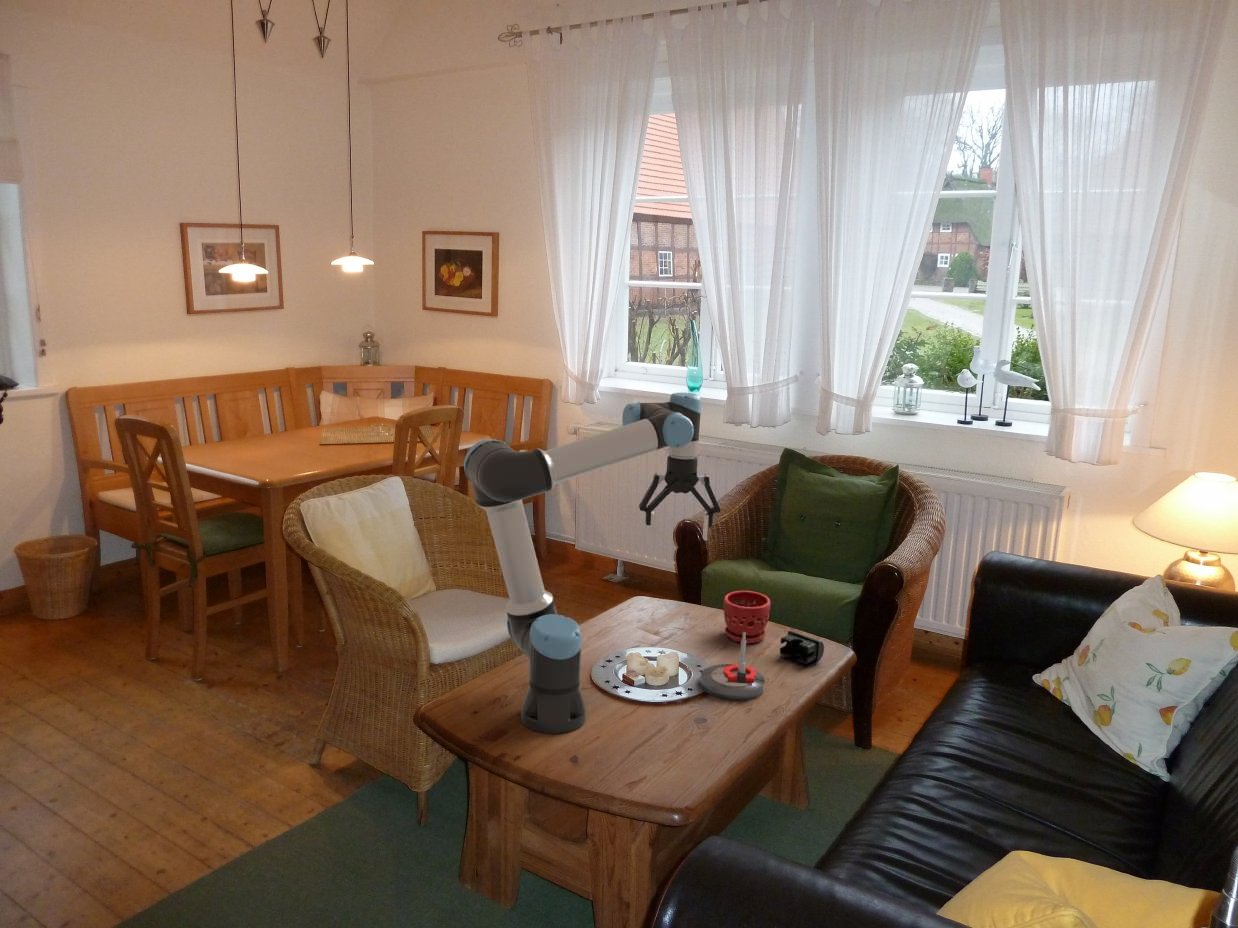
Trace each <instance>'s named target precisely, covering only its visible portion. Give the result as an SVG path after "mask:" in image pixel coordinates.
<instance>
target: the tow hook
mask: <svg viewBox="0 0 1238 928" xmlns="http://www.w3.org/2000/svg"><path fill="white" fill-rule="evenodd" d="M746 649H747V643H746V632H743V638H742V641H741V642H740V655H739V657H740V658H739V662H738V664H733V665H730V666H727V667H725V668H724V669H723V674H724V675H725V676H727V677H728V681H737V682H751V683H754V681H755V677H756V675H757V673H756V671H757V670H756V669H754V668H753V667H751V666H747V665H746V661H745V660H746ZM731 670H738V671H737V676H736V675H735V674H732V673H731V672H730V671H731ZM755 670H756V671H755ZM746 671H747V672H749V673H750V674H749V675H746Z"/></svg>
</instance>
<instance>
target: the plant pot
mask: <svg viewBox="0 0 1238 928" xmlns="http://www.w3.org/2000/svg"><path fill="white" fill-rule="evenodd" d="M741 600H744V602H743V603H742V602H741ZM734 602H736V603H737V604H734ZM749 603H750V604H749ZM770 612H771V599H770V598H769V597H768V596H767V595H765V594H763V593H760V592H756V591H751V590H736V591H731V592H729V593H727V594H726V595H725V596H724V598H723V617H724V623H725V625H726V627H725V628H724V632H725V634H726V636H727V637H728V638H730V639H731V640H732V641H734V642H738V643H741V641H742V638H743V632H746V644H752V643H758V642H761V641H762V640H763V639H764V638H765V637H766V633H767V632H766V630H765V629H766V627H767V625H768V622H769V617H770Z"/></svg>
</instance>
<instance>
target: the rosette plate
mask: <svg viewBox="0 0 1238 928" xmlns="http://www.w3.org/2000/svg"><path fill="white" fill-rule="evenodd" d="M730 665H734V664H732V663H731V664H730V663H729V664H728V663H724V664H723V663H721V664H714V665H711V666H708V667H705V668H704V669H703V670H702V671H701V674H700V687H701V690H702V691H704V692H705V693H706V694H708V695H709V696H712V697H714V698H716V699H720V700H724V701H729V702H730V701H731V702H733V701H734V702H745V701H752V700H755V699H757V698H759V697H761V696H762V695H763V694H764V692H765V683H766V682H765V681H766V680H765V677H764V676H763V674H762V673H761V672H759V671H758V670H756V669H754V670H755V671H756V673H757V675H756V677H755V681H754V683H751V682H737V681H728V677H727V676H725V675H724V674H723V669H724V668H725V667H727V666H730ZM737 671H738V670H731V671H730V672H731V673H732V674H735V675H736V676H737ZM749 674H750V673H749V672H747V671H746V675H749Z"/></svg>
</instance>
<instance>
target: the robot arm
mask: <svg viewBox="0 0 1238 928" xmlns="http://www.w3.org/2000/svg"><path fill="white" fill-rule="evenodd" d="M701 402H702V401H701V397H700V396H699V395H698V394H696V393H692V392H673V393H671V395H670V397H669V401H665V402H640V401H638V402H636V403H635V402H634V403H633V402H632V403H628V404H626V405H625V407H624V408H623V412H622V415H621V416H622V421H621V422H622V426H619V427H615V428H612V429H609V430H607V431H603V432H600V433H597V434H594V435H591V436H587V437H583V438H581V439H577V440H575V441H572V442H568V443H566V444H563V445H560V446H556V447H552V448H550V449H547V450H543V449H542V448H538V447H537V448H534V449H532V450H528V451H516V450H514V449H513V448H511V446H510V445H509V444H508V443H506V442H504V441H502V440H497V439H495V438H494V439H492V438H489V439H483V440H480V441H478V442H476V443H475V444H473V445H472V446H471V447H470V448H469V450H468V451H467V453H466V454H465V456H464V460H463V468H464V469H463V470H464V473H465V476H466V479H468V481H469V482H470V483H471V485H472V489H473V493H474V497H475V500H476V504H477V506H478V507H479V508H481V509H483V510H484V511H486V515H487V520H488V523H489V528H490V531H491V535H492V537H493V541H494V545H495V548H496V553H497V556H498V559H499V560H498V561H499V564H500V568H501V572H502V575H503V579H504V583H505V586H506V591H507V594H508V597H509V601H508V602H507V603H506V605H505V611H506V616H507V620H506V627H507V632H508V635H509V638H510V639H511V641H512V642H513V643H514V645H516V646H517V647H518V648H519V650H520V651H521V652H522V654H523V655H524V656H525V657H526V659H527V660H528V661H529V676H528V677H529V682H528V684H529V686H528V689H527V691H526V694H525V697H524V700H523V703H522V705H521V710H520V721H521V722H522V724H523V725H524V726H525V727H527V729H531V730H533V731H536V732H538V733H545V734H562V733H563V734H564V733H568V732H573V731H575V730H577V729H579V728H581V727H582V726H583V725H584V724H585V723H586V720H587V707H586V704H585V701H584V697H583V694H582V691H581V690H582V689H581V686H580V682H581V664H582V663H581V661H582V660H581V659H582V645H583V639H582V630H581V627H580V625H579V624H578V622H577V621H575V620H574V619H572V618H571V617H565V615H561V614H558V611H557V607H556V603H555V600H554V596H553V594H552V593H551V592H549V591H548V590H546V589H545V586H544V582H543V579H542V574H541V570H540V567H539V563H538V562H539V561H538V558H537V555H536V550H535V547H534V546H535V545H534V543H533V539H532V535H531V530H530V527H529V524H528V519H527V516H526V512H525V507H524V504H523V500H525V499H528V498H531V497H534V496H537V495H541V494H543V493H547V492H549V491H552V490H553V489H554V487H555V485H556V484H559V483H562V482H564V481H568V480H570V479H574V478H577V477H580V476H583V475H586V474H588V473H592V472H595V471H597V470H600V469H603V468H607V467H609V466H612V465H613V466H614V465H615V464H618V463H621V462H624V461H627V460H630V459H633V458H636V457H639V456H642V455H645V454H648V453H651V452H654V451H657V450H661V449H663V448H666V447H667V454H668V456H667V457H666V458H667V459H666V472H665V474H659V473H657V472H655V473H653V478H652V482H651V484H650V485H649V487H648V489H647V490H646V492H645V493H644V496H643V498H642V500H641V501H640V503H639V505H638V507H639V510H640V511H641V512H644V513H645V524H646V526H649V532H648V533H649V534H648V537H649V539H650V540H654V525H655V512H654V510H655V509H657V507H658V506H659V505H660V504H661V503H662V502H663V501H664V500H665V499H666V497H668V496H669V495H670V494H671V493H674V494H680V493H682V494H688V493H690V492H691V493H692V495H693V496H694V497H695V499H696V500H697V502H699V503H700V505H701V506H702V508H704V510H705V511H706V512H703V523H702V524H703V527H702V539H703V540H704V541H708V531H709V528H712V526H713V521H714V520H713V517H714V515H715V514H716V513H720V512H721V508H720V505H719V503H718V500H717V499H716V496H715V494H714V492H713V489H712V488H711V483H710V482H711V481H710V477H709V475H708V474H707V473H706V474H703V475H698V457H697V456H698V455H699V446H700V445H699V443H700V442H699V441H700V440H699V439H700V428H701V427H700V425H701V424H700V423H701V415H702V403H701ZM663 481H664V482H665V483H666V485H665V486H664V488H663V489H662V490H661V491H660V492H659V493H658V494H657V496H656V497H654V499H652V497H653V495H654V493H655V491H656V490H657V488H658V486H659V484H661V483H662V482H663ZM699 482H700V484H701V485H702V486H704V489H705V490H706V492H707V494H708V498H709V499H710V502H711V504H712V506H713V507H711V506H710V505H709V504H708V502H707V501H706V500H705V499H704V498H703V496H702V495H701V494H700V492H699V491H698V490H697V488H696V487H695V486H696V485H697V483H699ZM651 499H652V501H651V502H650V500H651Z"/></svg>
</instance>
